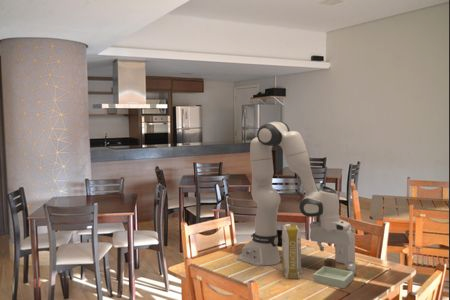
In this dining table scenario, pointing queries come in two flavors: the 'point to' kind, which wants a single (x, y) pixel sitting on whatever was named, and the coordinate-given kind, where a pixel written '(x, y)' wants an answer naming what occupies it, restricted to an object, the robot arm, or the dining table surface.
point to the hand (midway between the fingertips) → (331, 252)
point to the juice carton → (291, 251)
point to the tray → (333, 276)
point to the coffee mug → (279, 235)
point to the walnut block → (330, 263)
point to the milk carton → (346, 251)
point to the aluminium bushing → (351, 267)
